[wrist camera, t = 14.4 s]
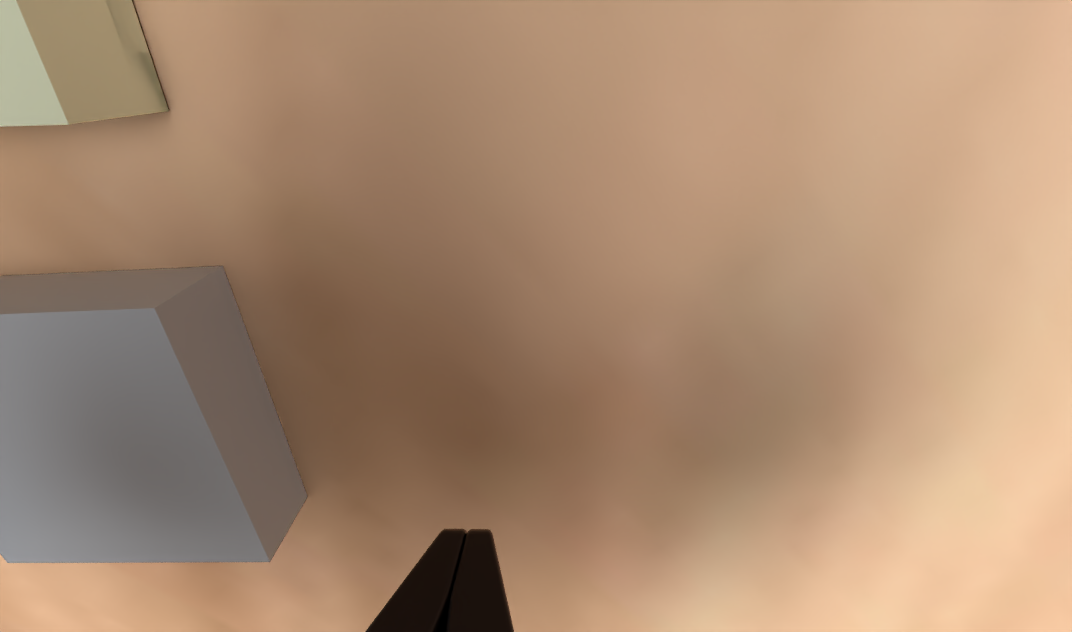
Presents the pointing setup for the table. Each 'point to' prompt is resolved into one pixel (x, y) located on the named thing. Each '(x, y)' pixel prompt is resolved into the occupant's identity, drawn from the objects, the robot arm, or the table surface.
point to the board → (137, 422)
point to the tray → (74, 63)
